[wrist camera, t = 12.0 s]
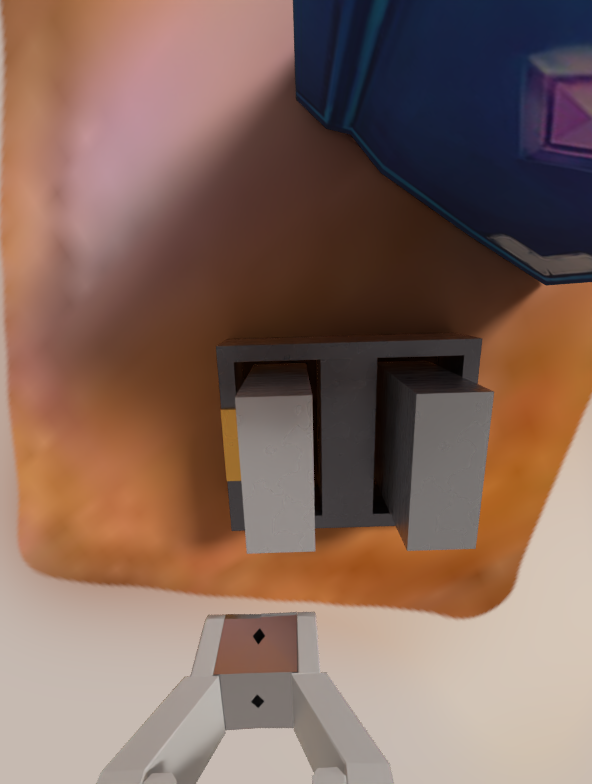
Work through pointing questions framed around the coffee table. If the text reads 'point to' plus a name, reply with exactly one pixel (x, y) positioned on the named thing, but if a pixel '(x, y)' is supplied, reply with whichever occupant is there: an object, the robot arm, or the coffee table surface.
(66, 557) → the coffee table surface
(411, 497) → the rack
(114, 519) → the coffee table surface
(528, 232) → the book
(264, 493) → the block
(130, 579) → the coffee table surface
